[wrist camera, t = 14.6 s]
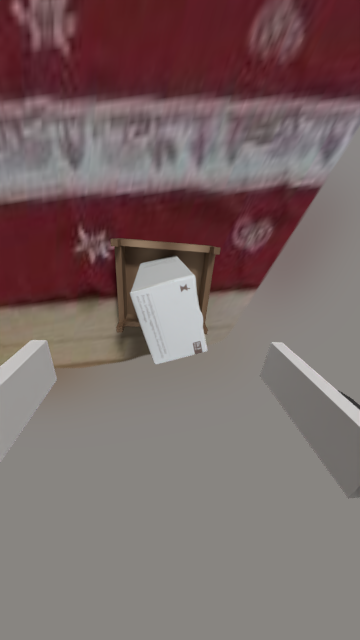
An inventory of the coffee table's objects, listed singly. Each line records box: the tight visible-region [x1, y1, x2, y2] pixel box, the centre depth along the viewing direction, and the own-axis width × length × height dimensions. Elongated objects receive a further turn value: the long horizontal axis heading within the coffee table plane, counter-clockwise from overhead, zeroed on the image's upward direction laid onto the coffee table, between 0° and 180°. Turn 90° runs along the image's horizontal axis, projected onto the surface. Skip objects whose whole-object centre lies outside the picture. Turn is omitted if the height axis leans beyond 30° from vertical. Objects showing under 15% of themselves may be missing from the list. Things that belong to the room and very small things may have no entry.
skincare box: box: [130, 255, 207, 364], centre depth 23 cm, size 8×6×15 cm
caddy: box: [111, 238, 220, 334], centre depth 28 cm, size 14×13×6 cm
